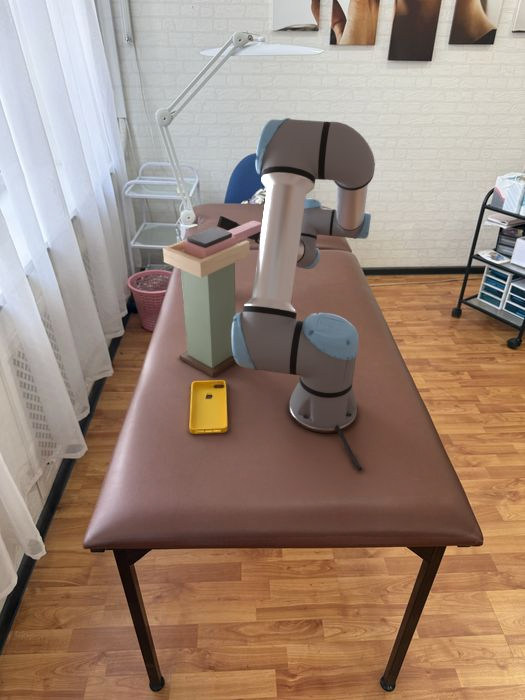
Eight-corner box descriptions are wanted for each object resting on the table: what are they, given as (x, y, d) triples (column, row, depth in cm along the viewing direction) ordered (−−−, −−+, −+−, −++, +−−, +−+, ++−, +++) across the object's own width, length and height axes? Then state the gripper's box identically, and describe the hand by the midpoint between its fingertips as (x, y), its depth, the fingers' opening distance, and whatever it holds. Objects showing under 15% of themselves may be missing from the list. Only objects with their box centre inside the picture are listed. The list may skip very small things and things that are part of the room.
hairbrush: (247, 225, 130) (247, 212, 128) (268, 232, 126) (268, 219, 124) (183, 251, 115) (182, 237, 113) (205, 260, 112) (204, 245, 110)
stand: (216, 336, 141) (212, 228, 124) (249, 352, 135) (249, 241, 117) (173, 362, 131) (162, 248, 113) (206, 380, 125) (200, 263, 107)
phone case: (189, 434, 109) (189, 429, 109) (192, 385, 123) (191, 381, 123) (227, 432, 110) (227, 428, 109) (225, 384, 124) (225, 379, 123)
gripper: (317, 273, 134) (275, 257, 116) (246, 248, 147) (198, 230, 129) (327, 246, 133) (286, 225, 115) (255, 223, 146) (208, 201, 128)
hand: (239, 228), depth 122 cm, fingers open, 13 cm apart
